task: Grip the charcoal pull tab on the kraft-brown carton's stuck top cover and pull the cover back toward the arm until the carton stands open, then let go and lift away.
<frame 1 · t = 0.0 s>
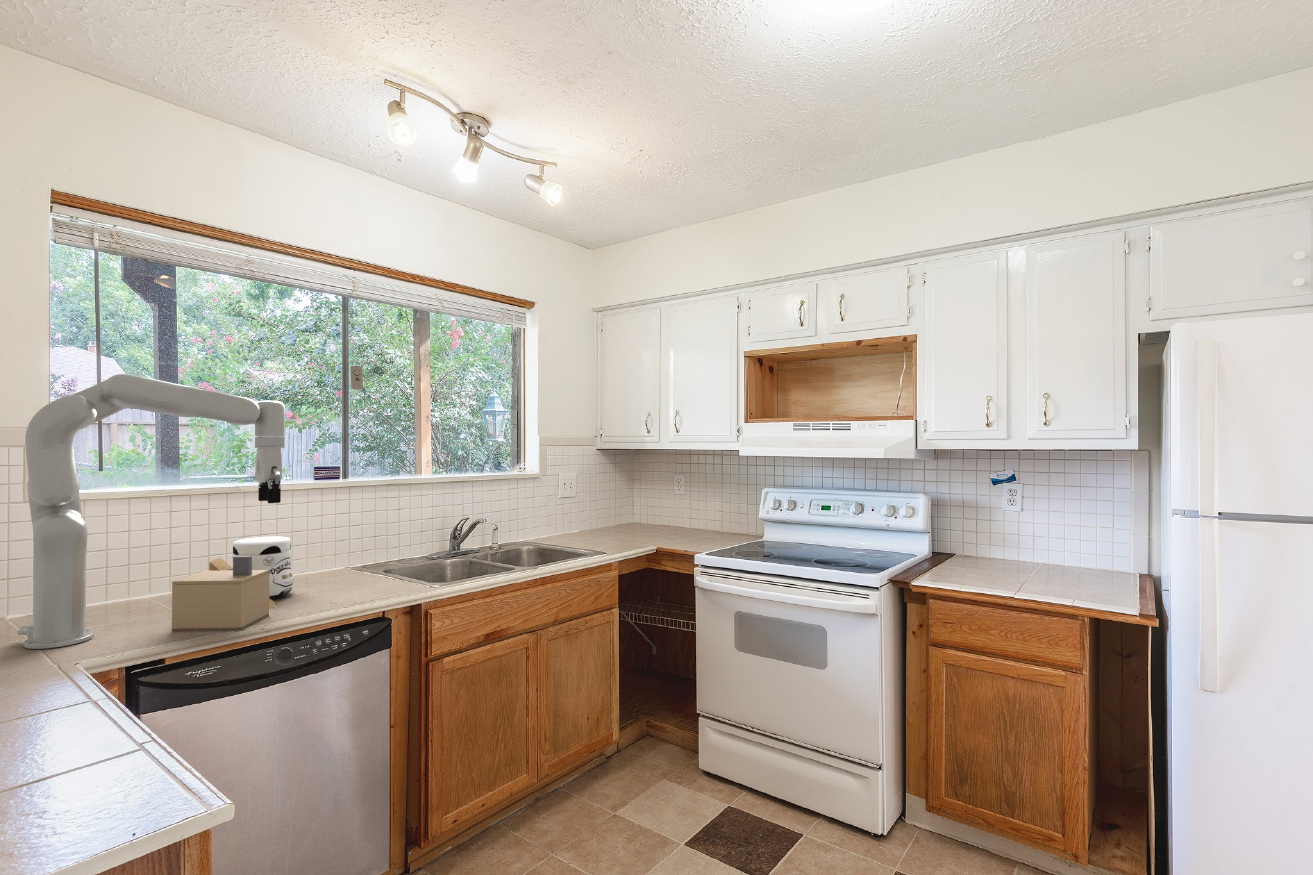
hand: (269, 501, 191), 31 cm above the table, tool pointing down, fingers open, 9 cm apart
carton: (222, 623, 175), on the table
carton lid: (222, 567, 175), point 15 cm above the table, slide at 0.0 cm
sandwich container: (244, 610, 191), on the table
milk container: (262, 598, 205), on the table
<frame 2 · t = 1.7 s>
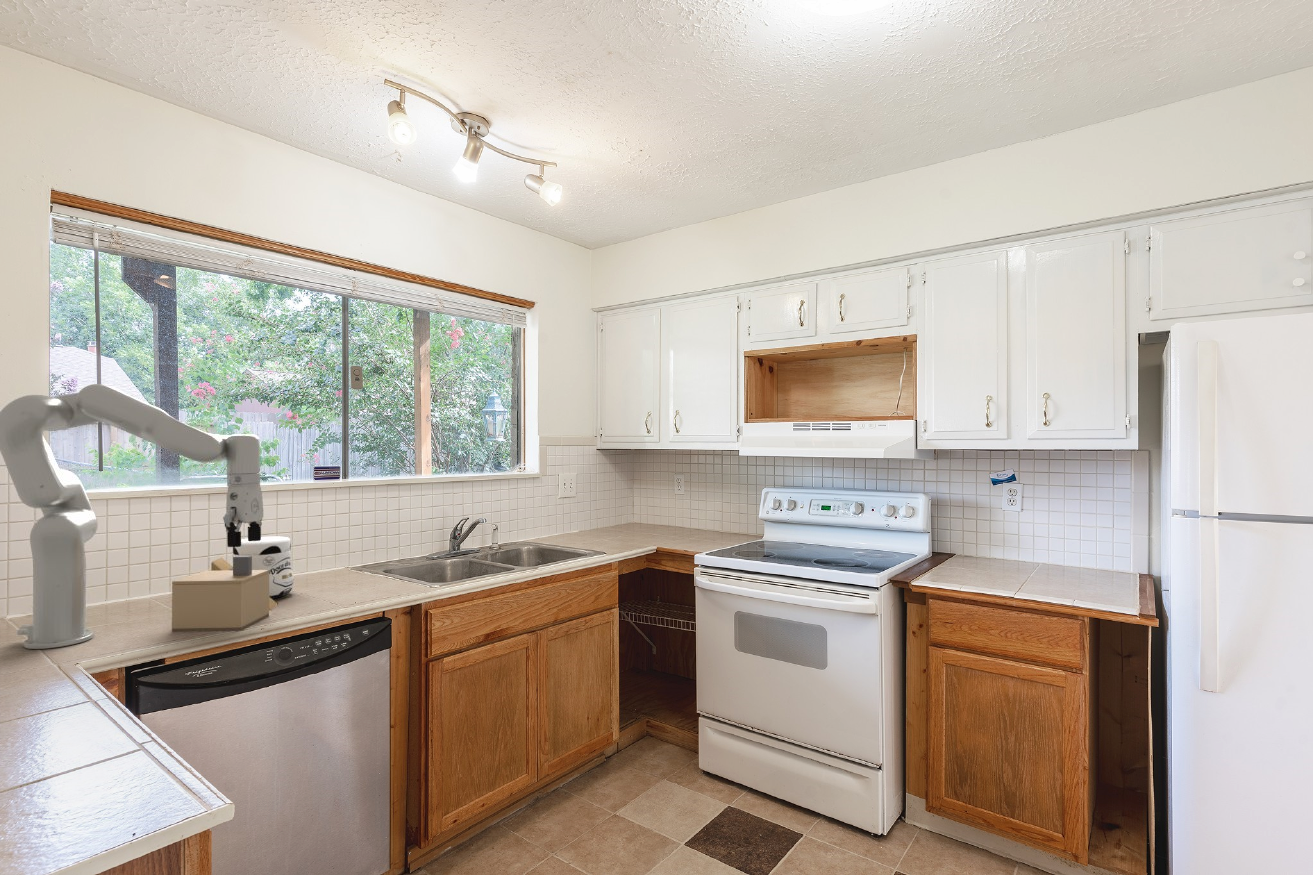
hand: (244, 543, 176), 21 cm above the table, tool pointing down, fingers open, 9 cm apart
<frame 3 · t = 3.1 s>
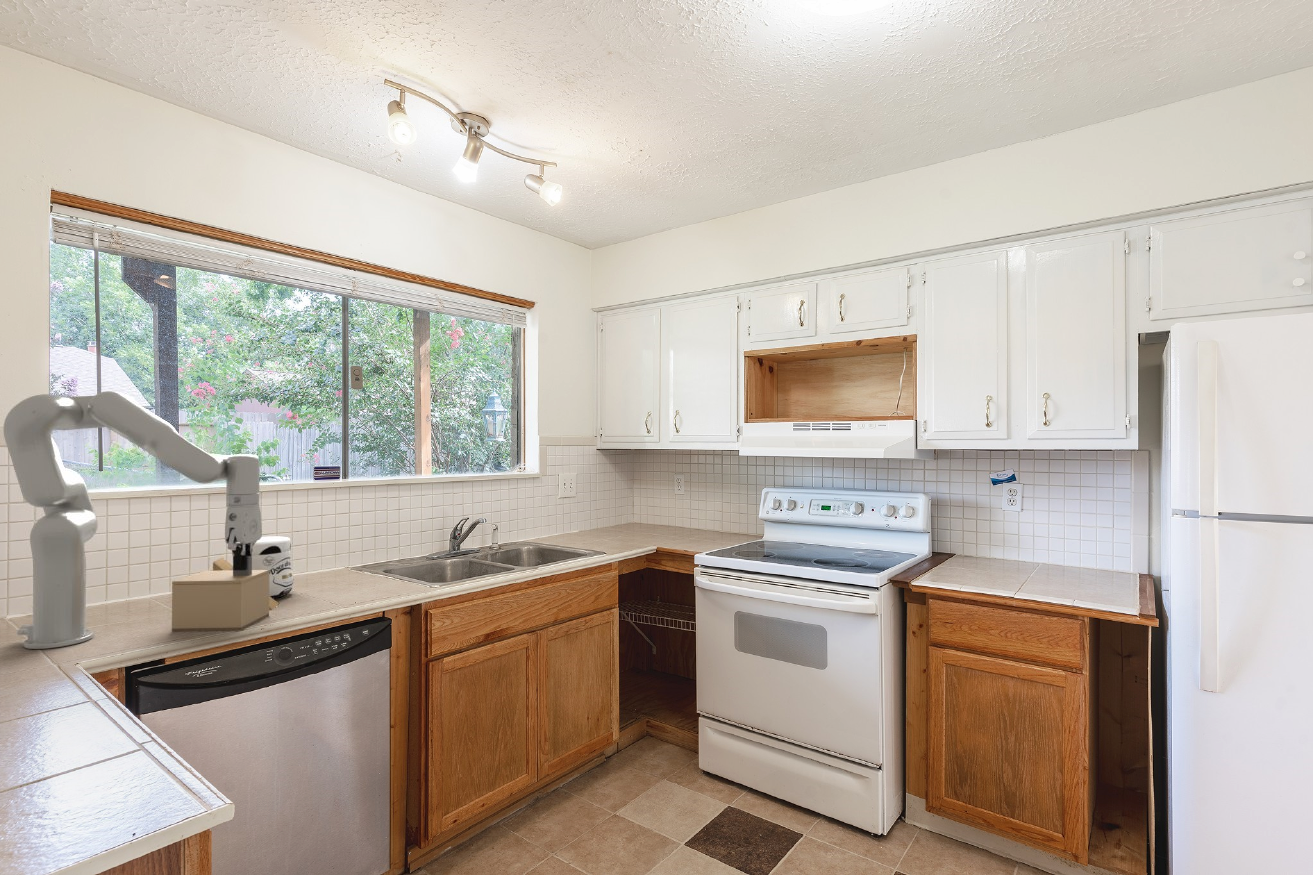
hand: (242, 568, 176), 15 cm above the table, tool pointing down, fingers closed on carton lid
carton lid: (222, 567, 175), point 15 cm above the table, slide at 0.0 cm, touching gripper
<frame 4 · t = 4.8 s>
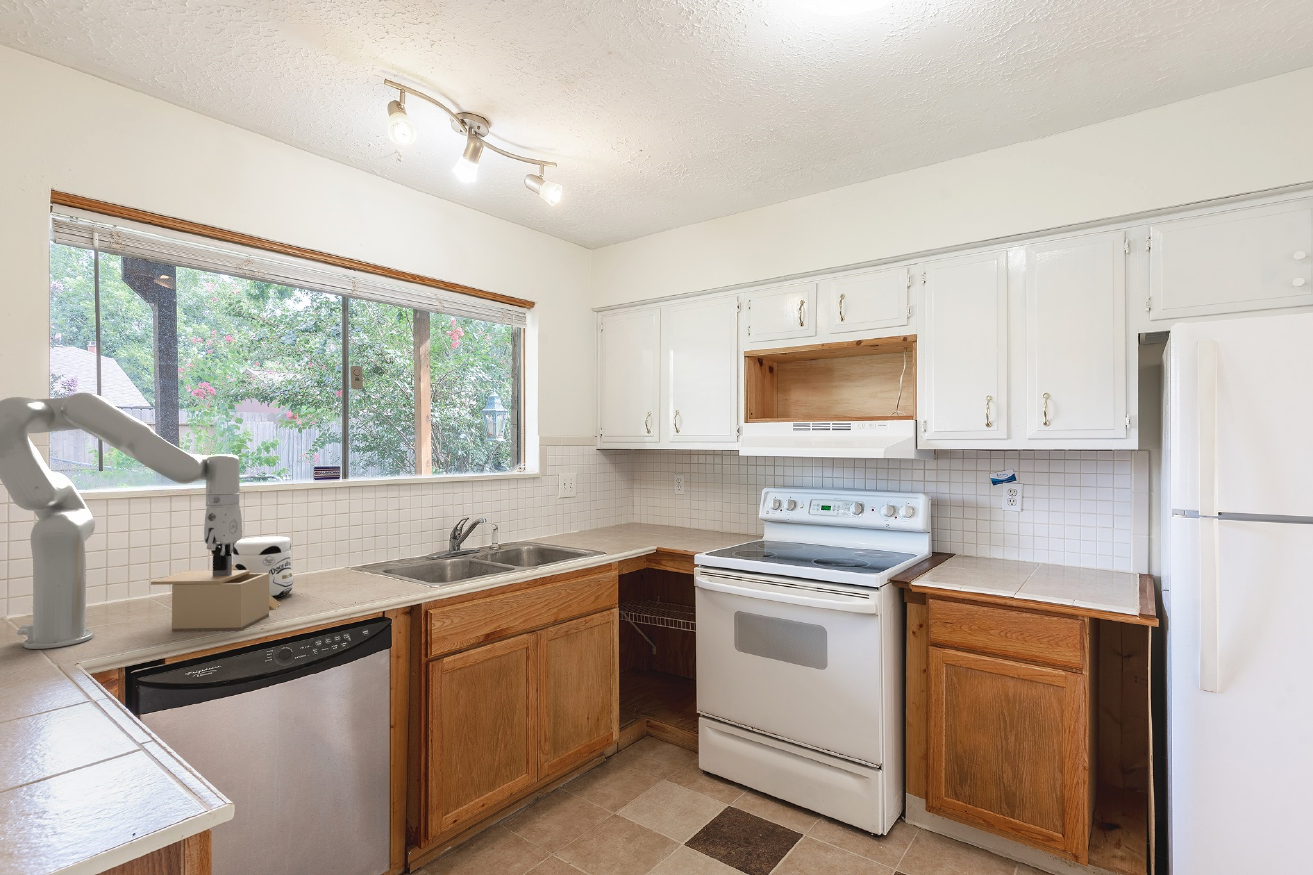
hand: (222, 568, 175), 15 cm above the table, tool pointing down, fingers closed on carton lid
carton lid: (202, 567, 175), point 15 cm above the table, slide at 5.2 cm, touching gripper
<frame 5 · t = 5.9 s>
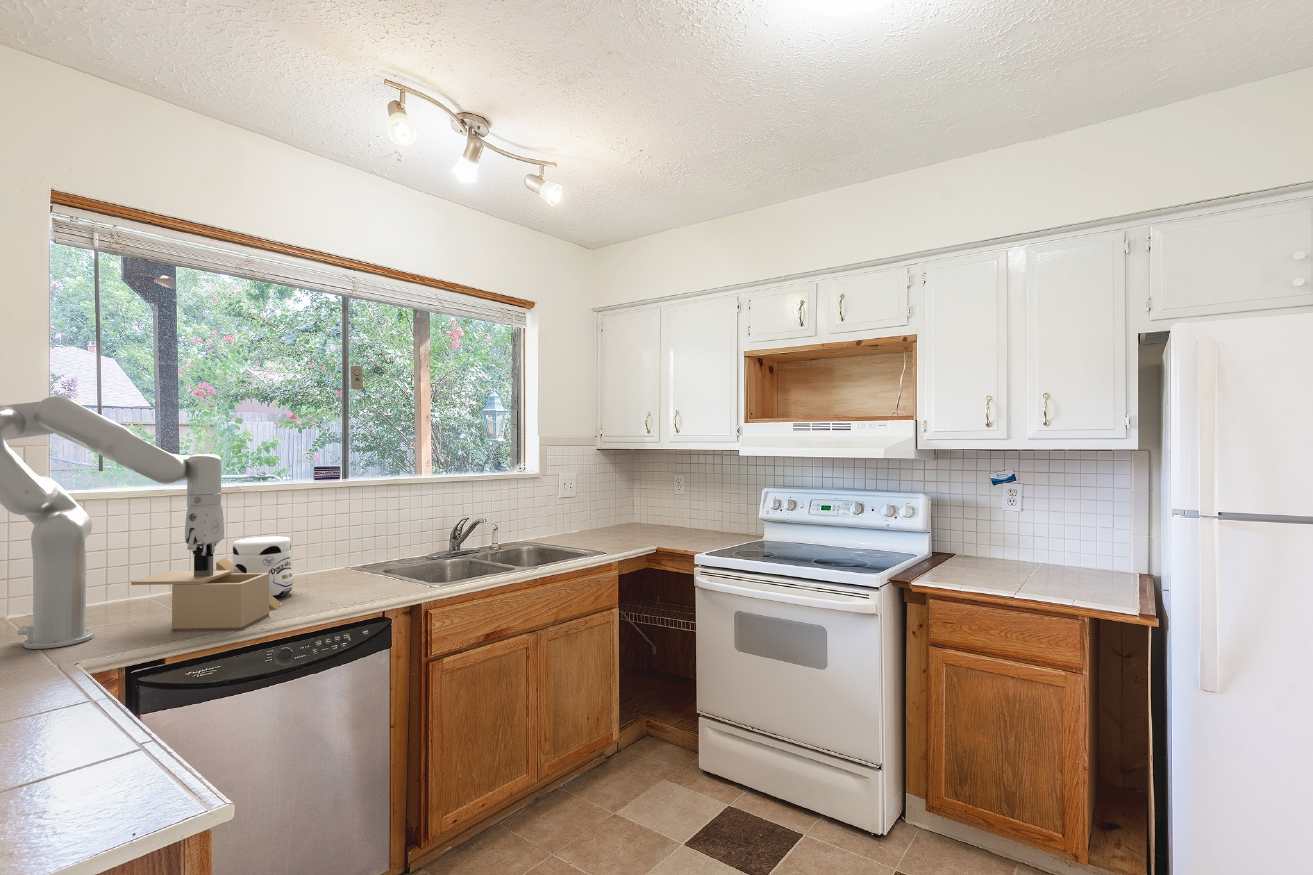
hand: (203, 569, 175), 15 cm above the table, tool pointing down, fingers closed on carton lid
carton lid: (184, 567, 175), point 15 cm above the table, slide at 9.9 cm, touching gripper
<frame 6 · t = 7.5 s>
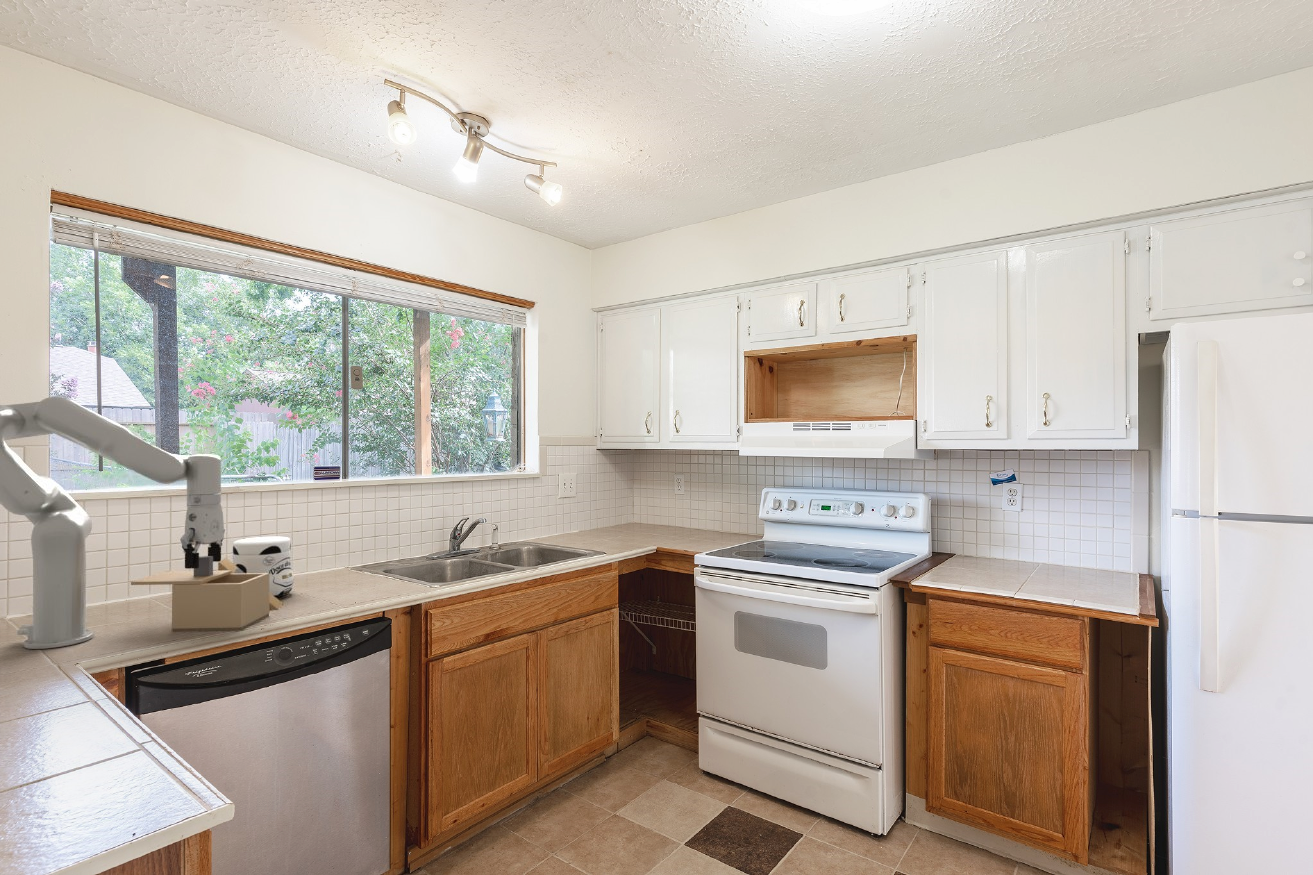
hand: (203, 564, 175), 16 cm above the table, tool pointing down, fingers open, 9 cm apart
carton lid: (183, 567, 175), point 15 cm above the table, slide at 10.0 cm
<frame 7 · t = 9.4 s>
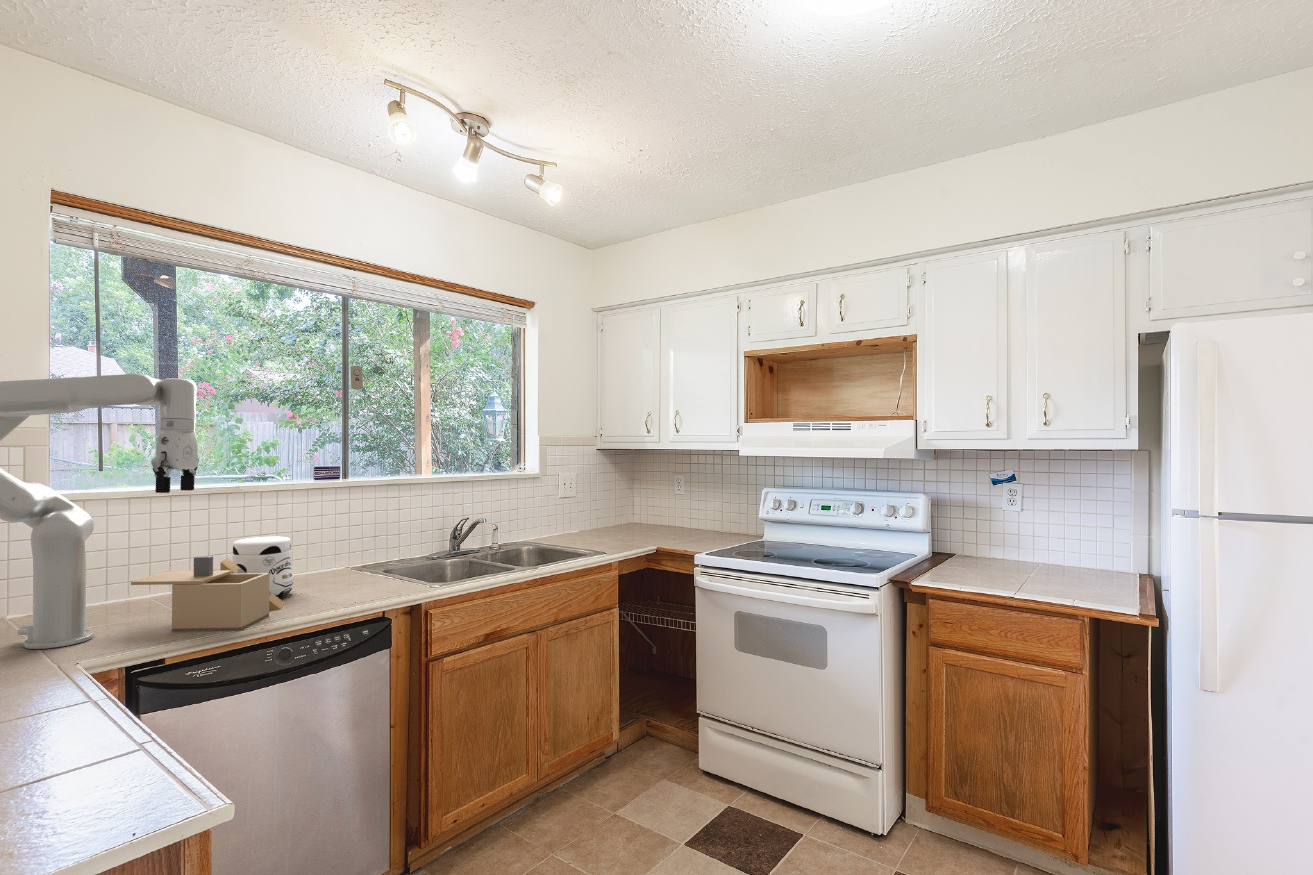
hand: (175, 491, 171), 36 cm above the table, tool pointing down, fingers open, 9 cm apart
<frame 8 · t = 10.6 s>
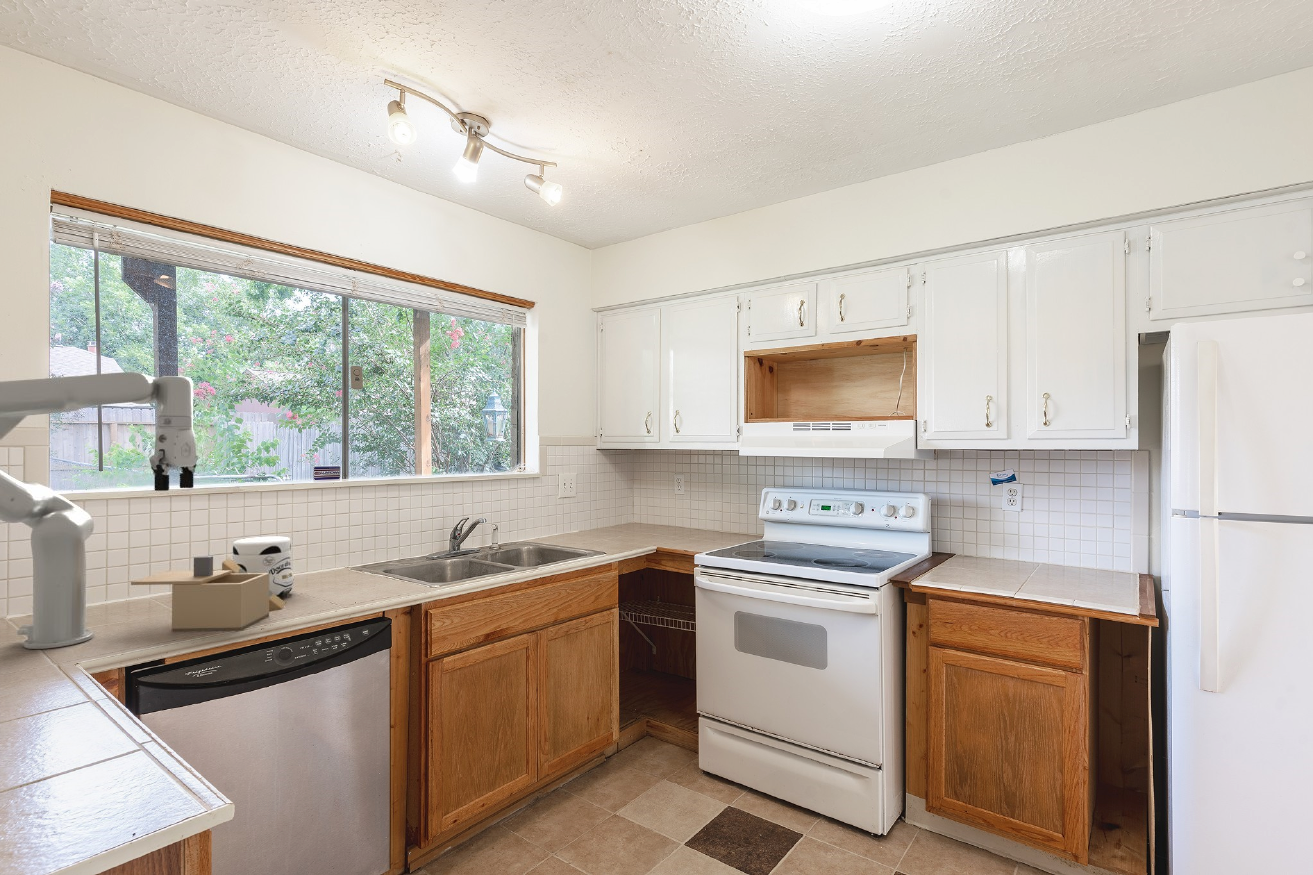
hand: (174, 489, 171), 36 cm above the table, tool pointing down, fingers open, 9 cm apart
at the end: carton lid slide at 10.0 cm; the gripper is holding nothing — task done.
